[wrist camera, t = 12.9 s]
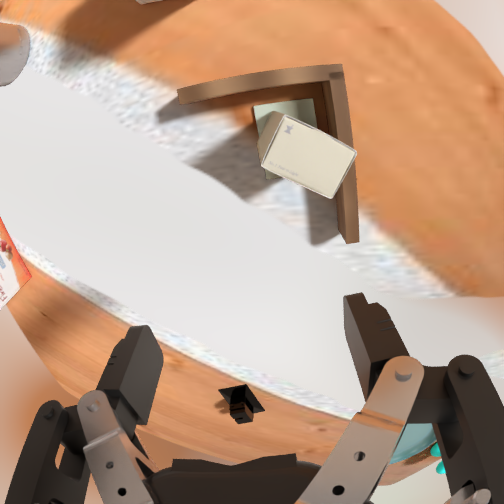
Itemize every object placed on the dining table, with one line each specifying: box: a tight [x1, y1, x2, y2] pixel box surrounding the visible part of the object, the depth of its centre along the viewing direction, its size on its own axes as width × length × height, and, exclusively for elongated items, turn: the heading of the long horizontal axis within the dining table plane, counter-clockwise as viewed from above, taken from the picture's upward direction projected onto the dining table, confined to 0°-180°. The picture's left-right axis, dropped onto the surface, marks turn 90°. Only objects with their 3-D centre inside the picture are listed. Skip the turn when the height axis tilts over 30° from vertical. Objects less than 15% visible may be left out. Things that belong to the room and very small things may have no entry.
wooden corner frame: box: [177, 64, 359, 244], centre depth 32 cm, size 16×19×4 cm
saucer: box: [389, 423, 436, 464], centre depth 62 cm, size 24×24×3 cm
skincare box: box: [257, 111, 357, 199], centre depth 27 cm, size 6×4×12 cm
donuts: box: [430, 443, 446, 474], centre depth 64 cm, size 10×10×10 cm
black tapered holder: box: [218, 384, 265, 424], centre depth 52 cm, size 12×7×5 cm, turn 21°
